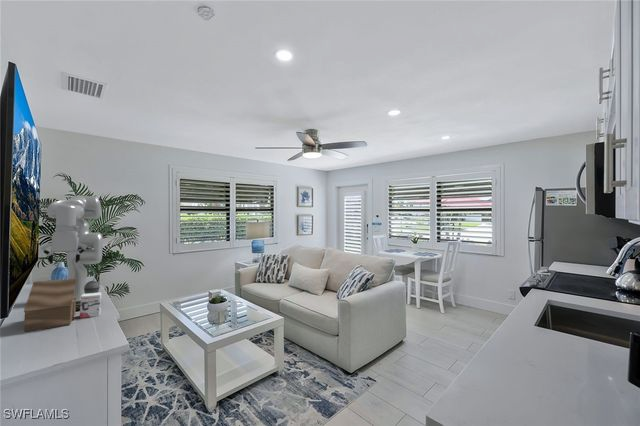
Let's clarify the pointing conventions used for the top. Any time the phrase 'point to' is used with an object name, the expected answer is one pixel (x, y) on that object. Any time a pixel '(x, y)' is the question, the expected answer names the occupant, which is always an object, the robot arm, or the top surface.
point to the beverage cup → (92, 286)
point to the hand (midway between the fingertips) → (64, 262)
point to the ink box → (90, 305)
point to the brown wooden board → (50, 295)
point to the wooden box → (49, 318)
